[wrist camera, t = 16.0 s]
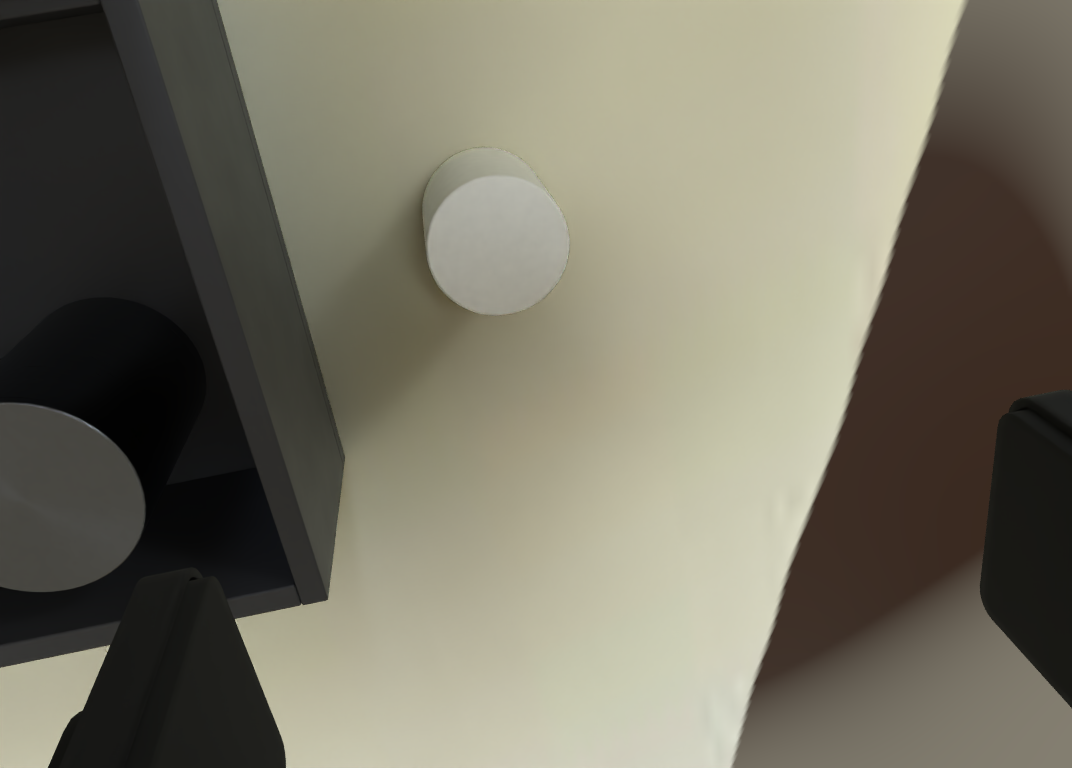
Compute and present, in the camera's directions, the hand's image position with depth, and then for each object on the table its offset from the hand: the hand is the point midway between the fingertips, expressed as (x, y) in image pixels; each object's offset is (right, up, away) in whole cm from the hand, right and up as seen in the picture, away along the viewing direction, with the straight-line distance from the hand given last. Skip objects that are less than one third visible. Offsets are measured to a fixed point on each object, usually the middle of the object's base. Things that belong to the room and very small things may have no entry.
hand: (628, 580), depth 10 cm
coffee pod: (-3, +8, +20) cm, 22 cm away
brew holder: (-16, +3, +21) cm, 27 cm away
